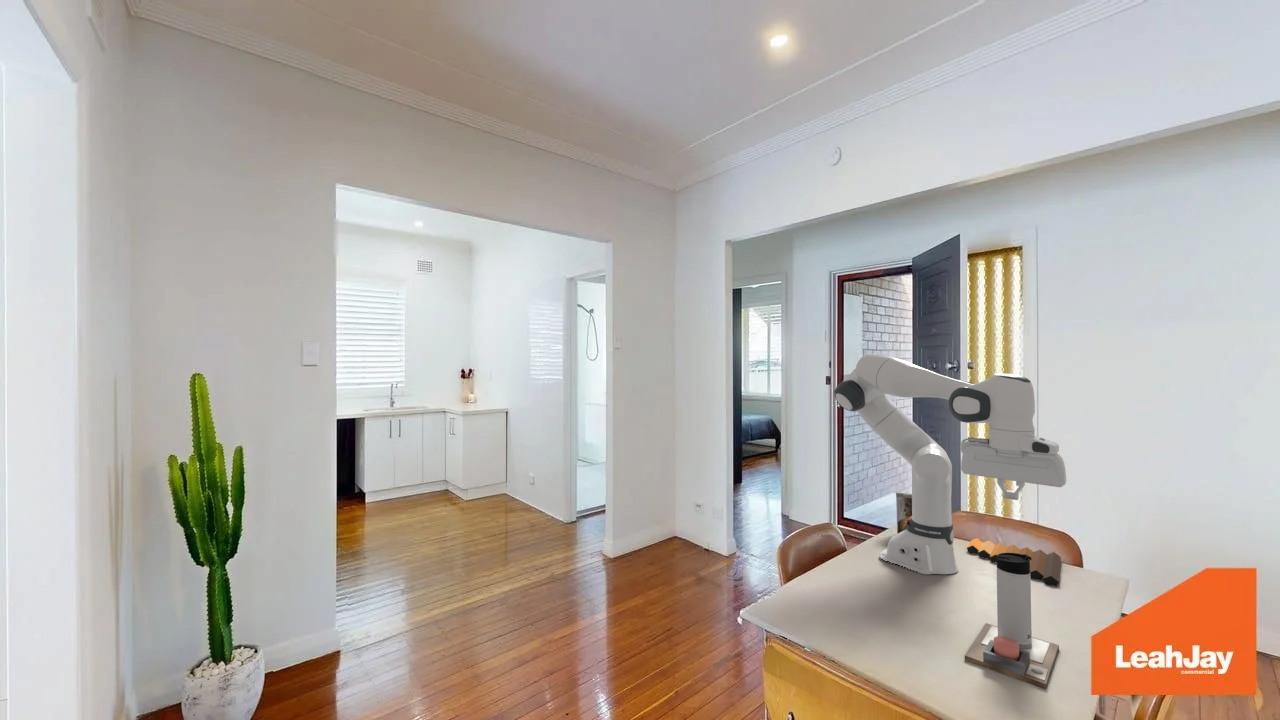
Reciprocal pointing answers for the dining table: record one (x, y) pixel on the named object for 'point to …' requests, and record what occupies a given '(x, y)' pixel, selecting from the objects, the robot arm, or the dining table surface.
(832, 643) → the dining table surface
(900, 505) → the coffee box
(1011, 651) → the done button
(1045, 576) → the pan flute
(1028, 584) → the travel mug
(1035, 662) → the brown board with holder
